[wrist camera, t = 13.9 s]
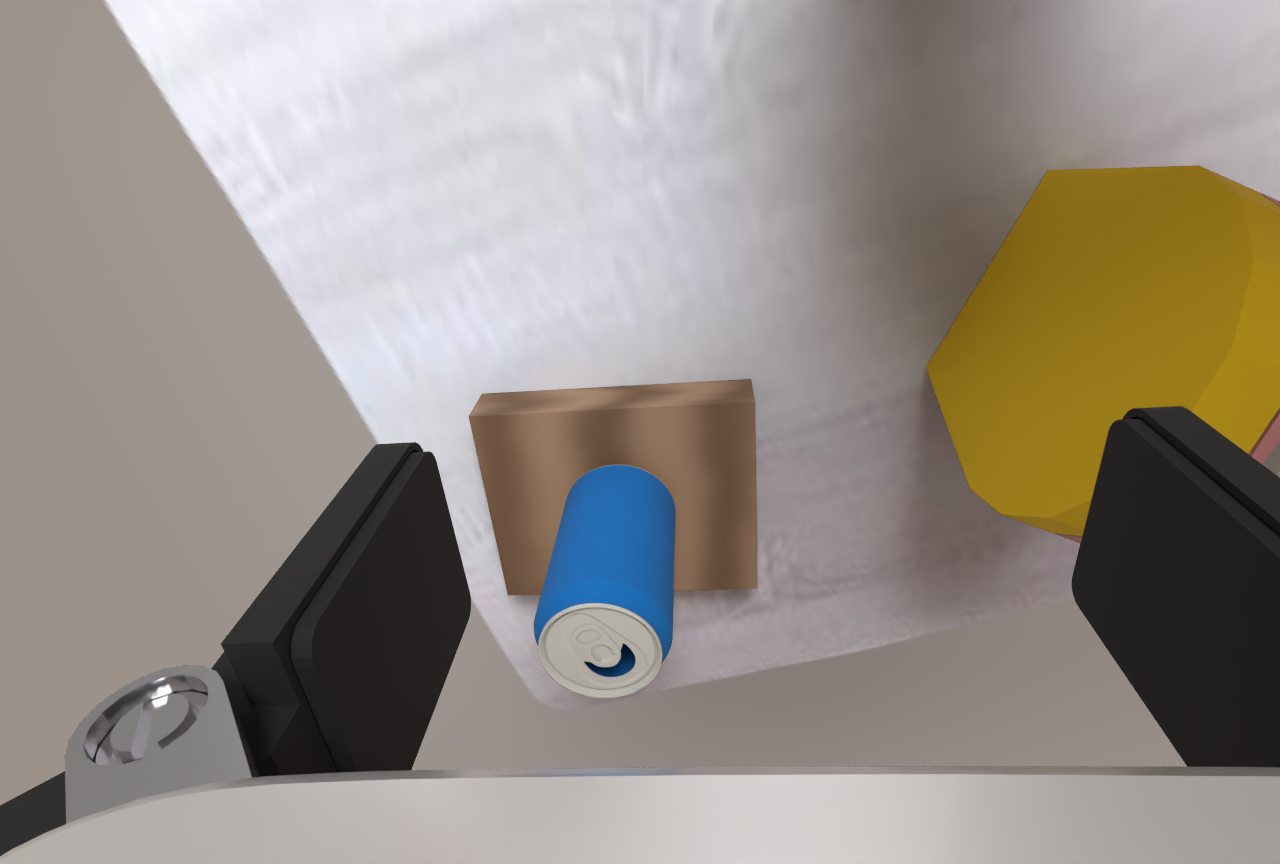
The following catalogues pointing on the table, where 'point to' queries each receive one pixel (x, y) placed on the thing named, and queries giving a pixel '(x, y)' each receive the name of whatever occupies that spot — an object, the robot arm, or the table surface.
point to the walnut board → (624, 435)
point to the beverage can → (609, 584)
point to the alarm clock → (1112, 332)
